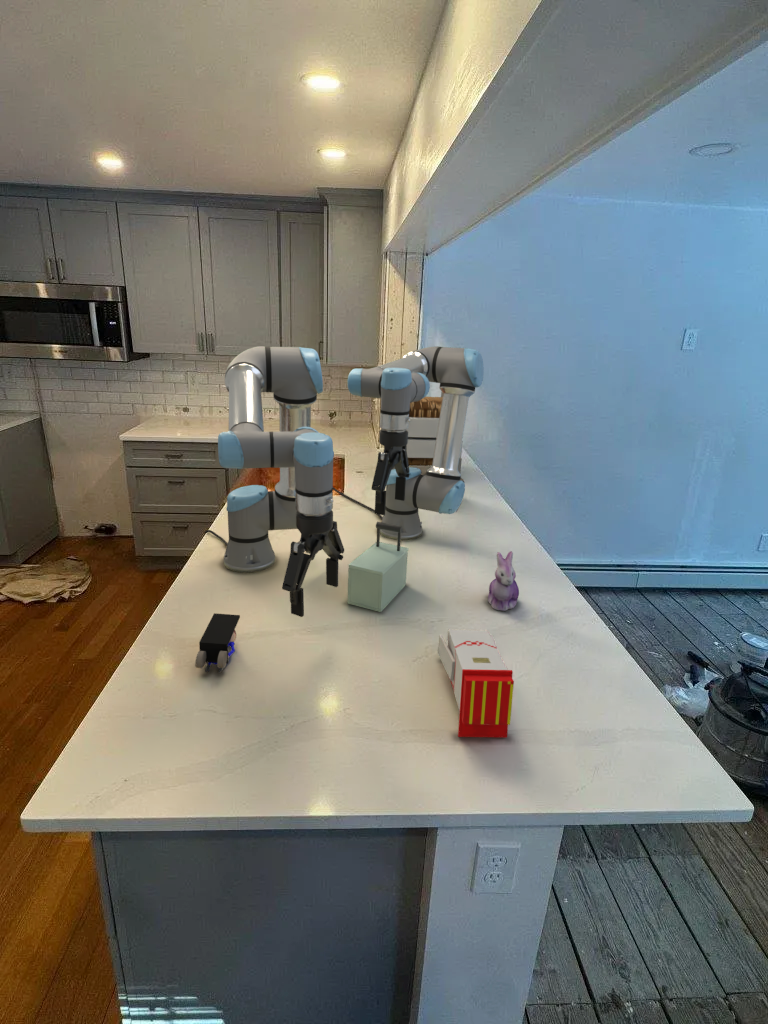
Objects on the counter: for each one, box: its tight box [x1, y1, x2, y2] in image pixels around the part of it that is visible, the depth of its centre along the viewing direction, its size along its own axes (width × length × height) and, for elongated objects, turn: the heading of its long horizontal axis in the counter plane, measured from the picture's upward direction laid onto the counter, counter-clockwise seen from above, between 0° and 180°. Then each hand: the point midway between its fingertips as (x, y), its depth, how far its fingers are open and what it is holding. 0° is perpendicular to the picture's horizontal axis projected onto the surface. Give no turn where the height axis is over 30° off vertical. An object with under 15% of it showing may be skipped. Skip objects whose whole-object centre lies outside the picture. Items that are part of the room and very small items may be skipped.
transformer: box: [383, 391, 464, 475], centre depth 268 cm, size 34×33×41 cm
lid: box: [348, 521, 410, 575], centre depth 153 cm, size 18×10×8 cm, turn 156°
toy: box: [437, 628, 515, 738], centre depth 117 cm, size 12×13×30 cm
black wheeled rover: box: [195, 612, 241, 673], centre depth 125 cm, size 7×8×15 cm
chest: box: [347, 551, 409, 613], centre depth 156 cm, size 18×10×11 cm, turn 156°
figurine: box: [487, 550, 520, 612], centre depth 153 cm, size 9×10×15 cm
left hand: (315, 599), depth 124 cm, fingers open, 13 cm apart
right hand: (390, 506), depth 154 cm, fingers open, 13 cm apart
